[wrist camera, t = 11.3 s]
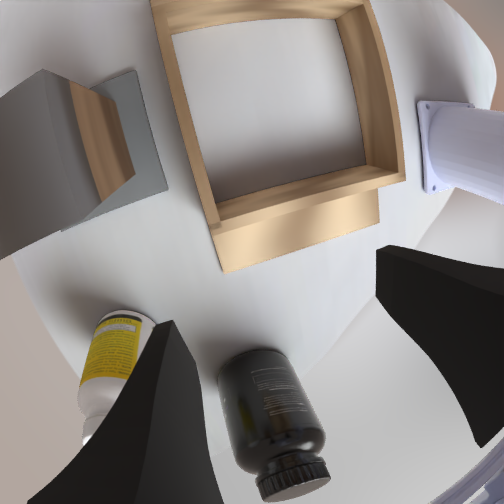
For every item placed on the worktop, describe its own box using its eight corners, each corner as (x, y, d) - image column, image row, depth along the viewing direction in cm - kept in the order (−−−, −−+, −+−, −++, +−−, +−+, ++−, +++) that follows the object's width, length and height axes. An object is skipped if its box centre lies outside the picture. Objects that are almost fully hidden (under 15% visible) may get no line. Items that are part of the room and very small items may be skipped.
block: (115, 102, 12) (42, 68, 4) (135, 174, 14) (82, 219, 6) (50, 133, 12) (-52, 145, 4) (70, 201, 14) (-14, 267, 6)
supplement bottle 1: (85, 336, 18) (56, 442, 9) (120, 294, 17) (91, 413, 9) (139, 370, 20) (136, 475, 12) (178, 335, 20) (188, 451, 11)
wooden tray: (324, -28, 11) (348, -47, 8) (377, 221, 20) (406, 237, 17) (147, -15, 10) (141, -42, 6) (223, 272, 18) (232, 301, 15)
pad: (136, 71, 12) (135, 69, 12) (168, 188, 15) (168, 190, 15) (30, 122, 11) (27, 123, 11) (63, 229, 15) (61, 231, 14)
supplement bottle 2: (200, 381, 22) (224, 507, 11) (255, 334, 21) (311, 469, 11) (252, 403, 25) (288, 505, 14) (303, 364, 24) (361, 469, 14)
